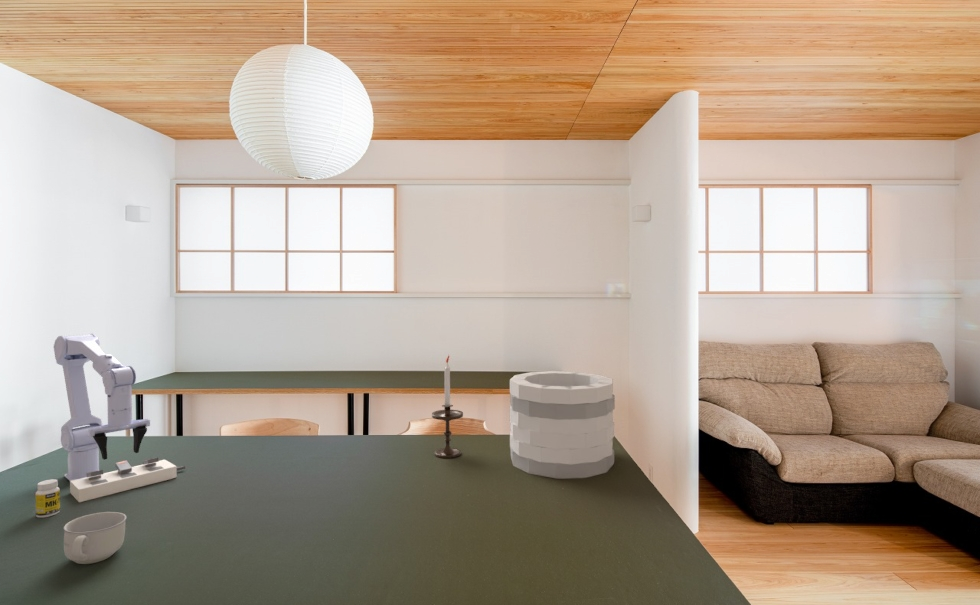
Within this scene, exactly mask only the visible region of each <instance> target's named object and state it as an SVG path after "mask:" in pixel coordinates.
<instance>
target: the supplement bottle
mask: <svg viewBox="0 0 980 605" xmlns="http://www.w3.org/2000/svg"><path fill="white" fill-rule="evenodd" d="M58 481H59V480H58V479H53V478H51V479H46V480H45V479H44V480H42V481H40V482H38V483H37V491H36V492H35V517H37V518H39V519H40V518H42V519H43V518H49V517H52V516H55V515H57V514H59V513H60V510H61V497H60V496H61V492H60V491H61V490H60V487H59V486H58V485H59V482H58Z"/></svg>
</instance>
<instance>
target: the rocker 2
mask: <svg viewBox="0 0 980 605" xmlns="http://www.w3.org/2000/svg"><path fill="white" fill-rule="evenodd" d="M132 467H133V466H131V464H130V463H129V462H128V460H122V461H118V462H115V468H116V469H117V470H118V471H119V473H120V474H124V473H128V472H132Z"/></svg>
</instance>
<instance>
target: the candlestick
mask: <svg viewBox="0 0 980 605" xmlns="http://www.w3.org/2000/svg"><path fill="white" fill-rule="evenodd" d="M449 358H450V355H448V356H447V357H446V359H445V363H446V365H445V367H444V404H443V405H441V407H442V408H444V409H440V410H439V409H438V410H435V411H433V412H431V418H433V419H434V420H440V421H444V422H445V430H444V431H443V435H444V436H445V438H444V439H443V440H444V442H445V446H444V447H441V448H438V449H436V450H434V456H435V458H440V459H453V458H454V459H455V458H457V457H458V458H459V456H461V454H462V452H461V450H460V449H459V448H456V447H451V445H450V442H452V439H451V436H452V433H453V432H452V430H450V422H451V421H454V420H459V419H462V418H463V417H464V412H463V411H461V410H458V409H451V408H452V407H454V405H453V404H451V367H449V360H450V359H449Z"/></svg>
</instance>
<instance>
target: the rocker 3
mask: <svg viewBox="0 0 980 605" xmlns="http://www.w3.org/2000/svg"><path fill="white" fill-rule="evenodd" d="M159 461H160V459H159V457H153V458H148V459H144V460H142V464H143V465H144V464H150V463H154V462H159Z"/></svg>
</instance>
